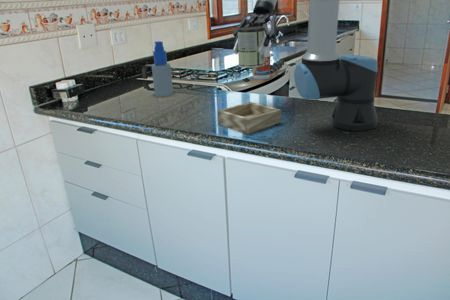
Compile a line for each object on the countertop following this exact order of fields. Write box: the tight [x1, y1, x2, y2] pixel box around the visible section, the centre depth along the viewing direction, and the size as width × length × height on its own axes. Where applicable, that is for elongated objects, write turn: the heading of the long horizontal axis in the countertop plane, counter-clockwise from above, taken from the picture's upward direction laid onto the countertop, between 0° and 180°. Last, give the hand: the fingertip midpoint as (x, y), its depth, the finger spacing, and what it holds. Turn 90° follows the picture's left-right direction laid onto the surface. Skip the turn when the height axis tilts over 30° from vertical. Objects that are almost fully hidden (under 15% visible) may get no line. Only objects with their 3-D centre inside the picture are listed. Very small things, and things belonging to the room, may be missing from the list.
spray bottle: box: [151, 41, 174, 98], centre depth 179 cm, size 9×9×25 cm
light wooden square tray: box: [217, 101, 282, 135], centre depth 134 cm, size 16×16×5 cm
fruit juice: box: [252, 26, 271, 81], centre depth 203 cm, size 9×9×28 cm
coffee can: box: [236, 27, 265, 69], centre depth 143 cm, size 10×10×14 cm
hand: (247, 52), depth 141 cm, fingers closed on coffee can, 10 cm apart
